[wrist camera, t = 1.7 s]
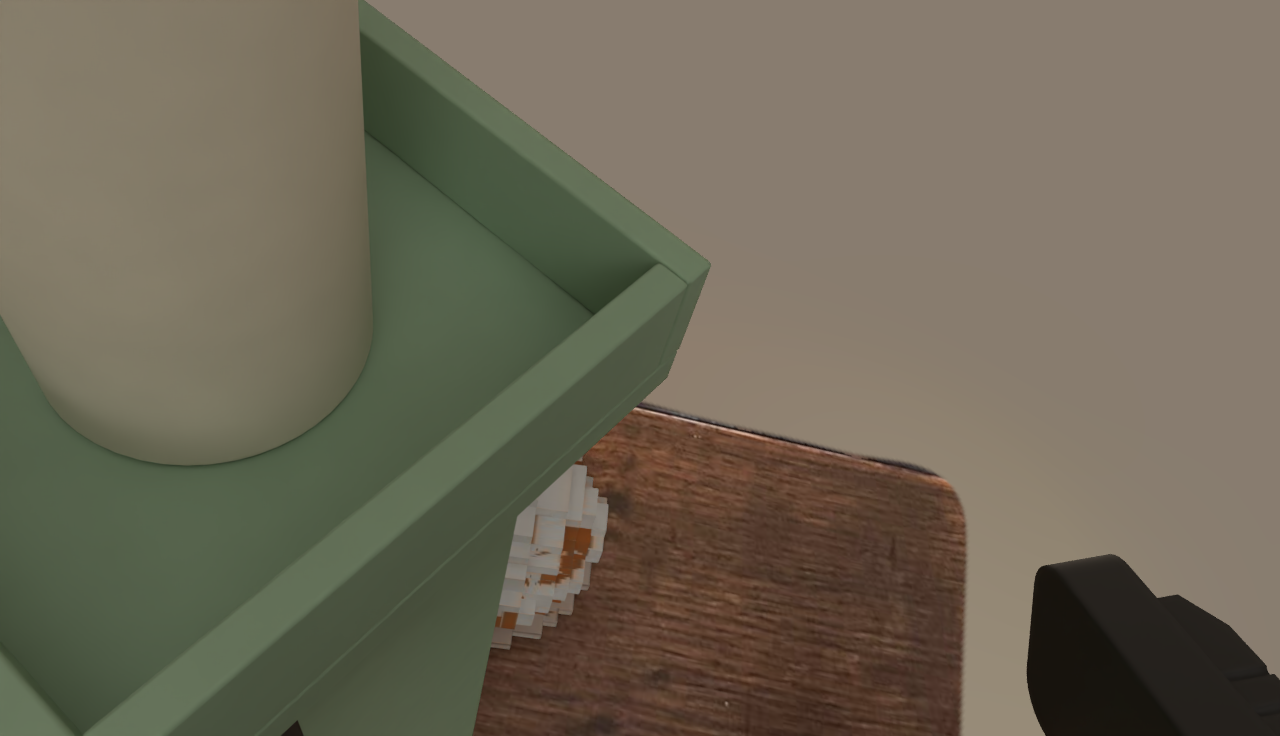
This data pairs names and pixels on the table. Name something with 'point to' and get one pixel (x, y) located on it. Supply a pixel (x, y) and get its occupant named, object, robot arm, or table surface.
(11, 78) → the marker
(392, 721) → the holder
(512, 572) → the white blocky ovoid
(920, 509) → the table surface
